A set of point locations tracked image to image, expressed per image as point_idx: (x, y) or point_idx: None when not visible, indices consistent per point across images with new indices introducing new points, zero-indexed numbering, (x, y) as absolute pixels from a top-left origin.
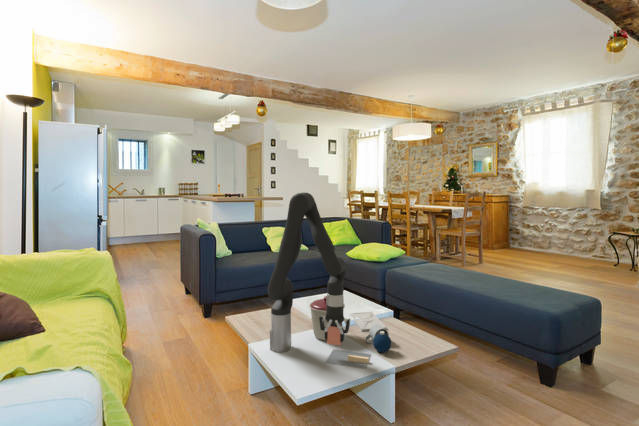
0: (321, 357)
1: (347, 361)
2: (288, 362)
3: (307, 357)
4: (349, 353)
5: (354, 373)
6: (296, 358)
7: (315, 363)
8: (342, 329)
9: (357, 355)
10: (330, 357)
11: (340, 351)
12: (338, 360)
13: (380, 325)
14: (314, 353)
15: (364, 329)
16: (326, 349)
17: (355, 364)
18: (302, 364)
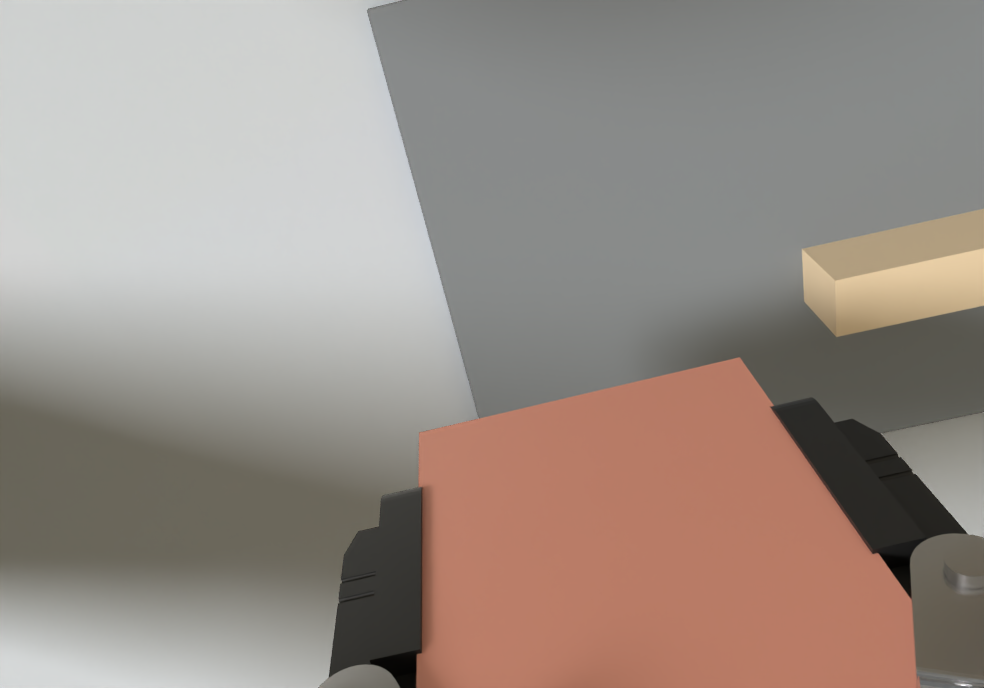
0: (351, 372)
1: (809, 324)
2: (68, 673)
3: (167, 470)
4: (756, 24)
5: (968, 518)
6: (61, 560)
7: None
8: (978, 651)
9: (932, 24)
10: (497, 338)
11: (553, 33)
12: (661, 362)
13: None
14: (159, 312)
15: None
16: (230, 52)
17: (954, 345)
18: (255, 634)
